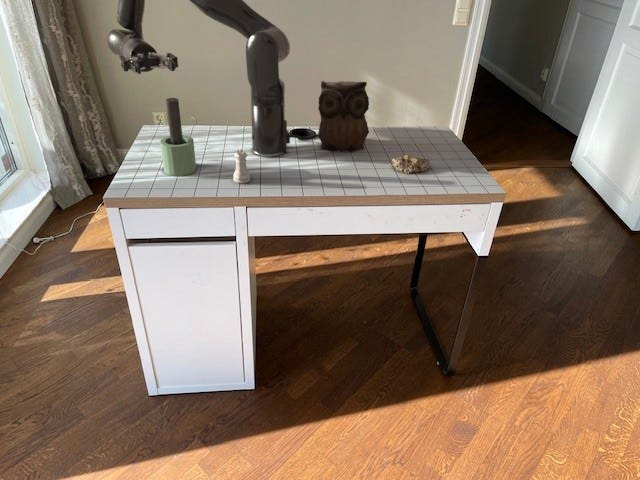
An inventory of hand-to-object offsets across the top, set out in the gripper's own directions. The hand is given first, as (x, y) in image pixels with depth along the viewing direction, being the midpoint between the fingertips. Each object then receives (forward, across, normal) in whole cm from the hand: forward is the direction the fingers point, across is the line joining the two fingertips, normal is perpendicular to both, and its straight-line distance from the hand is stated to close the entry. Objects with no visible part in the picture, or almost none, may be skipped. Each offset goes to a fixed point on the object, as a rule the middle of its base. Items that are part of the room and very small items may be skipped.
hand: (156, 68), depth 125 cm
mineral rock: (+38, +58, +23) cm, 73 cm away
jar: (+11, 0, +23) cm, 26 cm away
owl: (+15, +49, +23) cm, 56 cm away
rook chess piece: (+25, +12, +23) cm, 36 cm away
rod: (+11, 0, +23) cm, 25 cm away
